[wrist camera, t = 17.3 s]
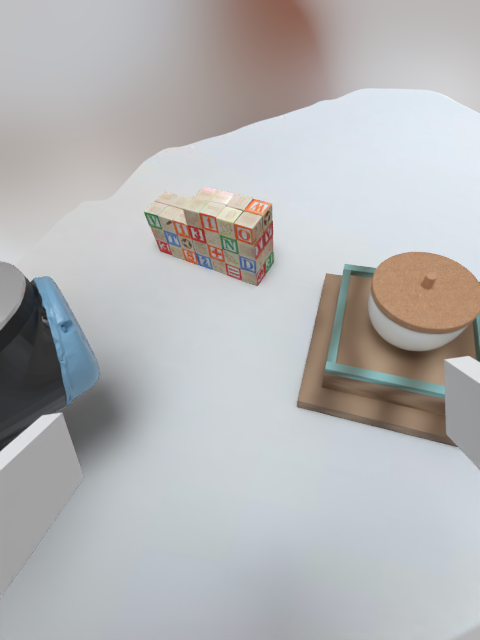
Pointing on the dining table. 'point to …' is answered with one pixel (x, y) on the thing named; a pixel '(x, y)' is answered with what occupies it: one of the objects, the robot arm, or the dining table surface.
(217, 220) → the stack of blocks
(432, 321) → the lidded jar
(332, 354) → the base
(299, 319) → the dining table surface
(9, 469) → the robot arm
